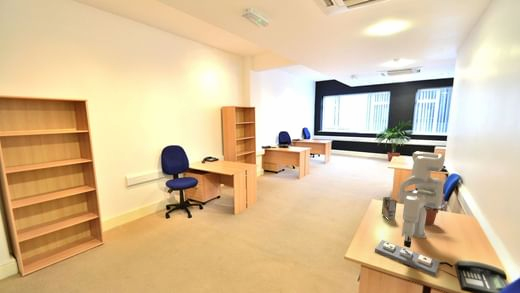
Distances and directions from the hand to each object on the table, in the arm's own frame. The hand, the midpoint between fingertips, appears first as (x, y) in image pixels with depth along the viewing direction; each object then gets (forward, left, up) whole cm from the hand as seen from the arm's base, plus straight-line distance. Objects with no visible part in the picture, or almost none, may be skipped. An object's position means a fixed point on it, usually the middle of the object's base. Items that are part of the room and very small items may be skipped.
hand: (407, 246), depth 132 cm
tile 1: (+1, +9, -7) cm, 11 cm away
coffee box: (-52, -24, -7) cm, 58 cm away
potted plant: (-64, -1, -7) cm, 64 cm away
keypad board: (+1, 0, -7) cm, 7 cm away
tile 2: (+1, -9, -6) cm, 11 cm away
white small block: (+1, 0, -6) cm, 7 cm away
